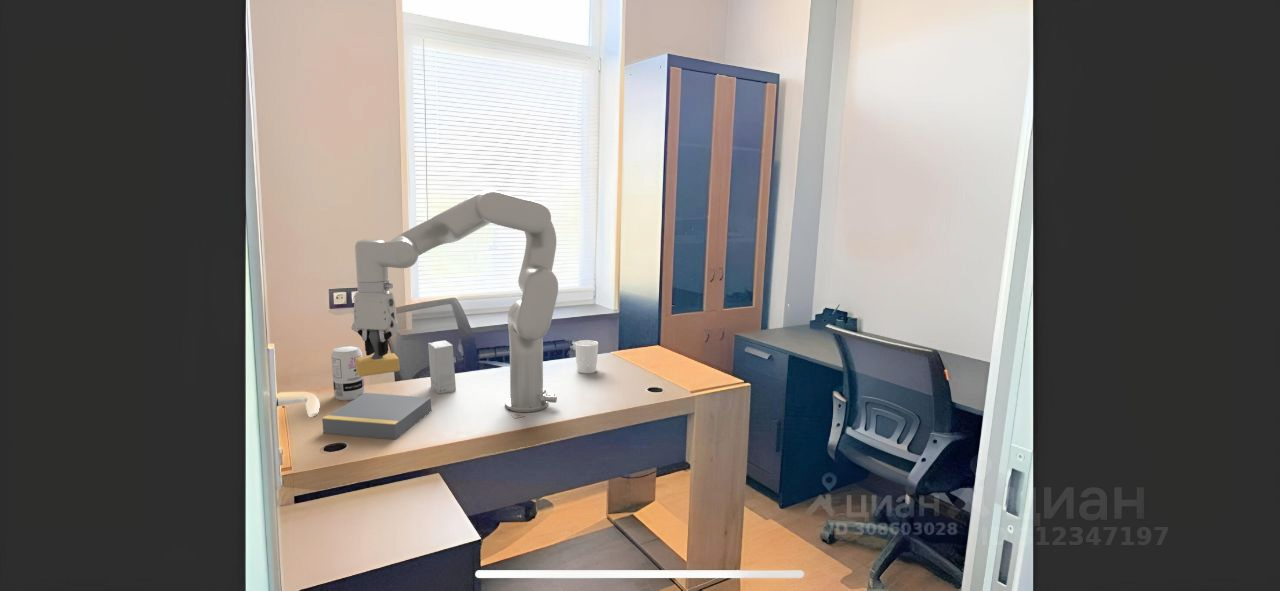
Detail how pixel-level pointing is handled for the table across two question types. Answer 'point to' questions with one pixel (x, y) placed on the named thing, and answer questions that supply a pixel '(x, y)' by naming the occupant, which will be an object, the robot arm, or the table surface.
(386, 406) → the block
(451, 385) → the skincare box
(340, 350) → the supplement can
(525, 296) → the robot arm
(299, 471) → the table surface
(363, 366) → the rubber stamp
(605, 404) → the table surface
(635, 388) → the table surface
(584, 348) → the white cup
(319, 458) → the table surface
